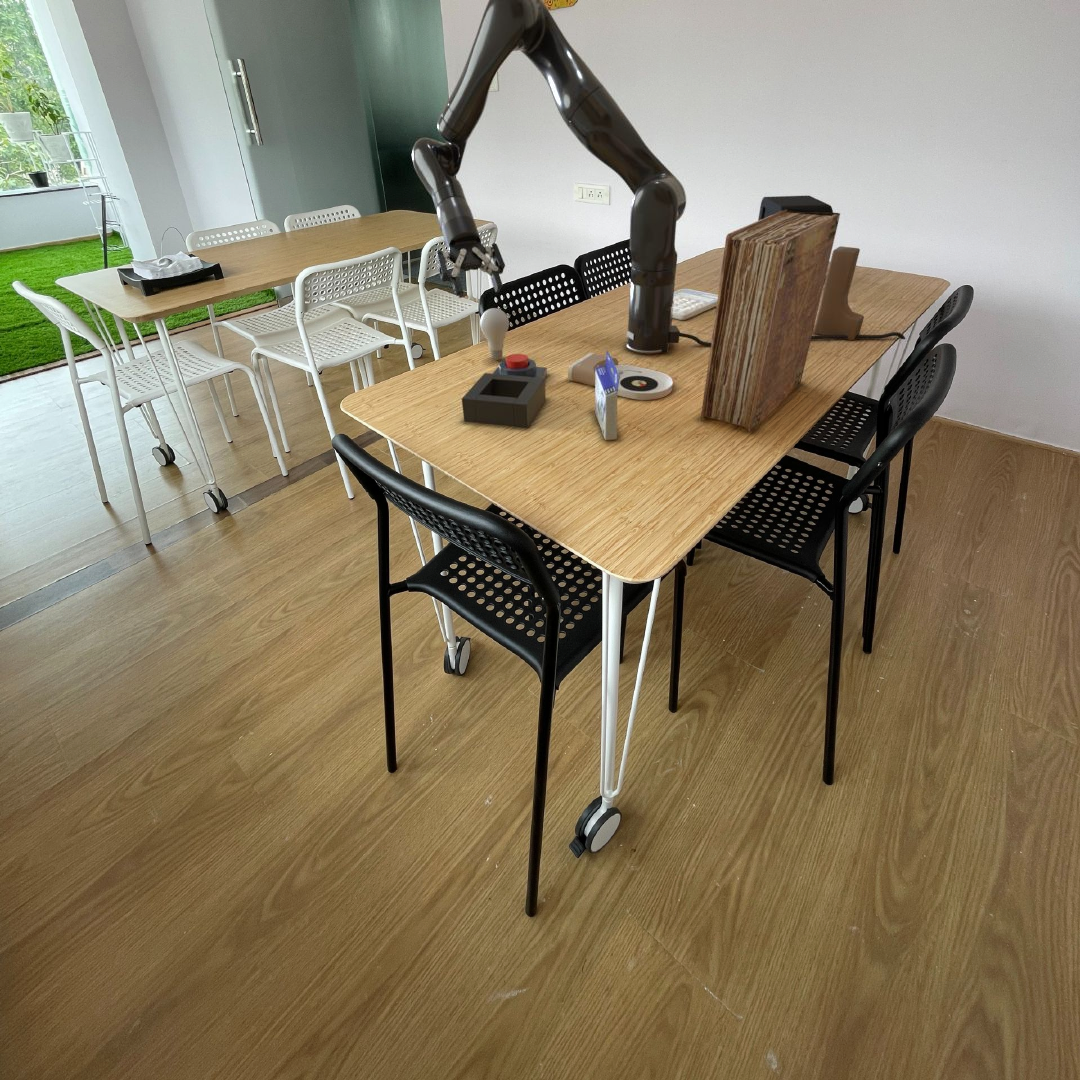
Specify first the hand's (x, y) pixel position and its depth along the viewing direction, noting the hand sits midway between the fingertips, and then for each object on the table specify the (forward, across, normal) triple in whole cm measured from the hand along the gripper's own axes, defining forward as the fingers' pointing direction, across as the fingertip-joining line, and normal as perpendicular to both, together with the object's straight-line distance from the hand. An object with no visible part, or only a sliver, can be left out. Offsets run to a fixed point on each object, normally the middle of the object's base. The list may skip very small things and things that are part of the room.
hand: (480, 293), depth 134 cm
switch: (+23, 0, -6) cm, 24 cm away
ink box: (+42, +6, -24) cm, 48 cm away
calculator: (+6, +57, +12) cm, 59 cm away
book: (+44, +35, -27) cm, 62 cm away
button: (+21, 0, -8) cm, 23 cm away
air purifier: (-1, +100, +19) cm, 101 cm away
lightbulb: (+14, 0, +3) cm, 15 cm away
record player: (+31, +18, -14) cm, 39 cm away
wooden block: (+30, +75, -12) cm, 82 cm away
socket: (+32, -8, -14) cm, 36 cm away
